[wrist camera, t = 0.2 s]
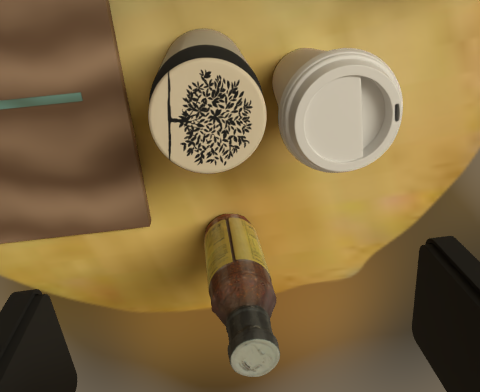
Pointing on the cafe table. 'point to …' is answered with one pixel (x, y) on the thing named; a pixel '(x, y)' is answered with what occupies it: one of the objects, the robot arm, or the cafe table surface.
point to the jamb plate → (65, 124)
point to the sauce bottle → (241, 293)
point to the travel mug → (206, 104)
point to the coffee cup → (336, 107)
